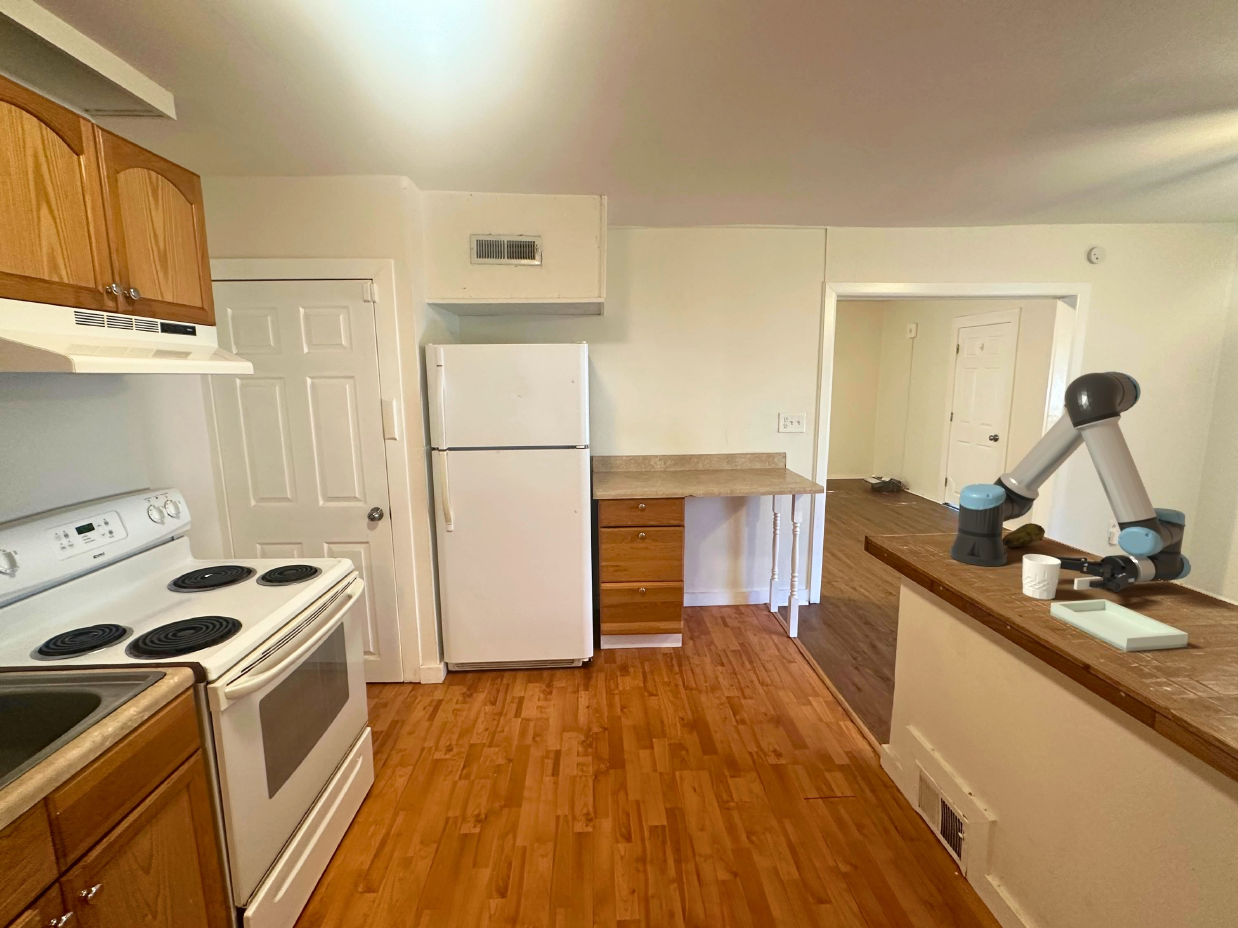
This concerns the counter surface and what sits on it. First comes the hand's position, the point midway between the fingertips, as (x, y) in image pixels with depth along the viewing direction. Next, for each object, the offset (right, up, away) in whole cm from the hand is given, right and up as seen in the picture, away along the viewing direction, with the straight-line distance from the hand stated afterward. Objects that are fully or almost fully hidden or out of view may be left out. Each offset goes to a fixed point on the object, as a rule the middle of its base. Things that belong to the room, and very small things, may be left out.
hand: (1051, 574), depth 138 cm
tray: (-1, -9, -18) cm, 20 cm away
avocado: (+22, +1, +39) cm, 45 cm away
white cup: (-2, -6, +2) cm, 7 cm away
